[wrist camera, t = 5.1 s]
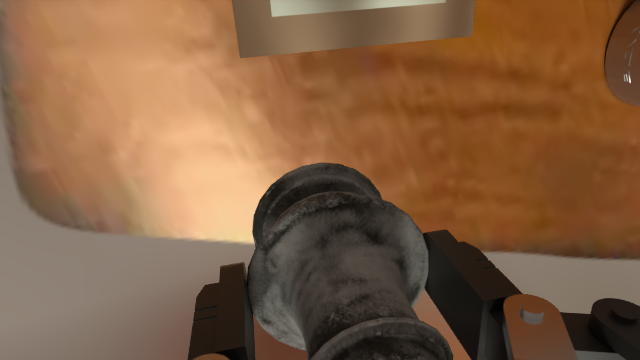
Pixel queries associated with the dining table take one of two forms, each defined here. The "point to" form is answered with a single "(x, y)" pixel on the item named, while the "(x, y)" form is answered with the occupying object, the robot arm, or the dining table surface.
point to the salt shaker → (339, 269)
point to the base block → (345, 23)
